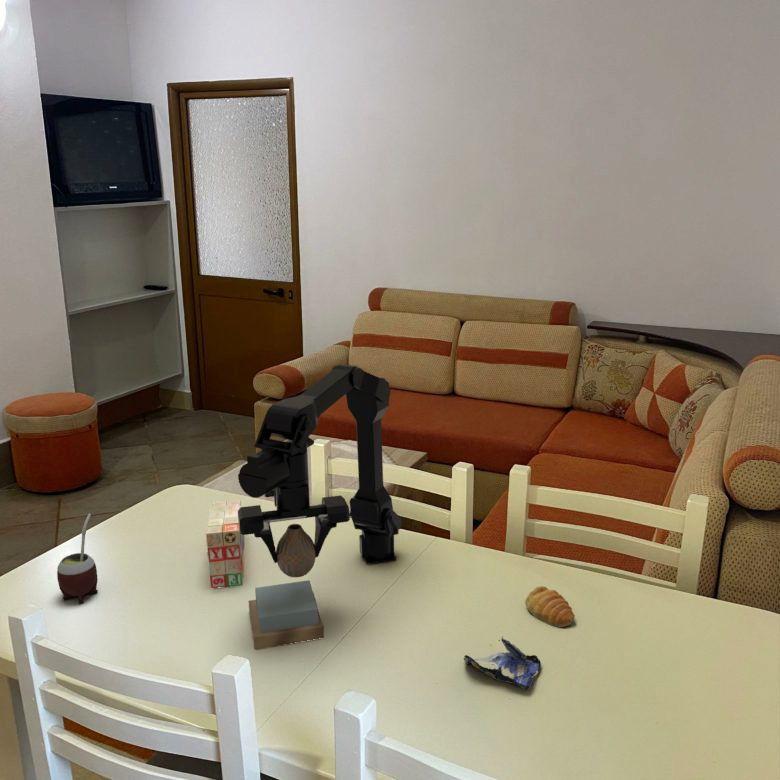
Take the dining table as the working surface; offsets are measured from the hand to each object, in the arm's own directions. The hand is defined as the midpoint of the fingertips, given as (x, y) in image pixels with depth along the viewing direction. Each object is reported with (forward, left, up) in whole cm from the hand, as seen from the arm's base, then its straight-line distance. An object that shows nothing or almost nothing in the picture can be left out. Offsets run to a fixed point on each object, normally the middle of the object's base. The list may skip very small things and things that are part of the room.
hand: (296, 559), depth 134 cm
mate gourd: (+40, -21, -13) cm, 47 cm away
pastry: (-45, +9, -13) cm, 47 cm away
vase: (0, 0, -3) cm, 3 cm away
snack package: (-30, +23, -13) cm, 40 cm away
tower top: (+2, 0, -11) cm, 11 cm away
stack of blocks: (+11, -27, -13) cm, 32 cm away
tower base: (+3, 0, -14) cm, 14 cm away
